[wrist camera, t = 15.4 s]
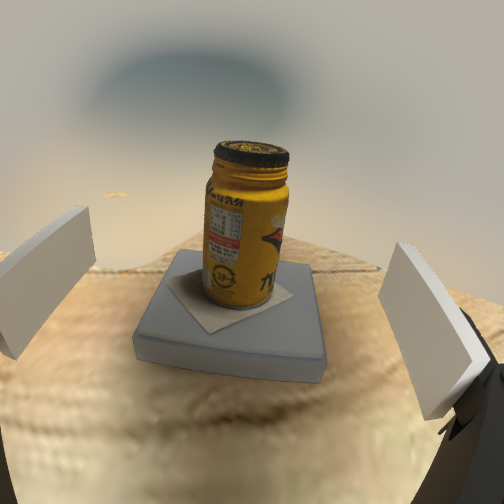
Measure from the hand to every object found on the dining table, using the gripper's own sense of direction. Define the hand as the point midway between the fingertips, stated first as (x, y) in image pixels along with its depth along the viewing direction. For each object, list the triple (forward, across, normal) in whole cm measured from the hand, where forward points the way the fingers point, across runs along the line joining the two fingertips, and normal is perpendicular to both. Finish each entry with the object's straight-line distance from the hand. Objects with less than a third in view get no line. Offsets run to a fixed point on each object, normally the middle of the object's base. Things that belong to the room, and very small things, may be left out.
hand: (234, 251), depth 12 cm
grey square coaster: (+10, 0, -12) cm, 16 cm away
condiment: (+10, -1, -10) cm, 14 cm away
